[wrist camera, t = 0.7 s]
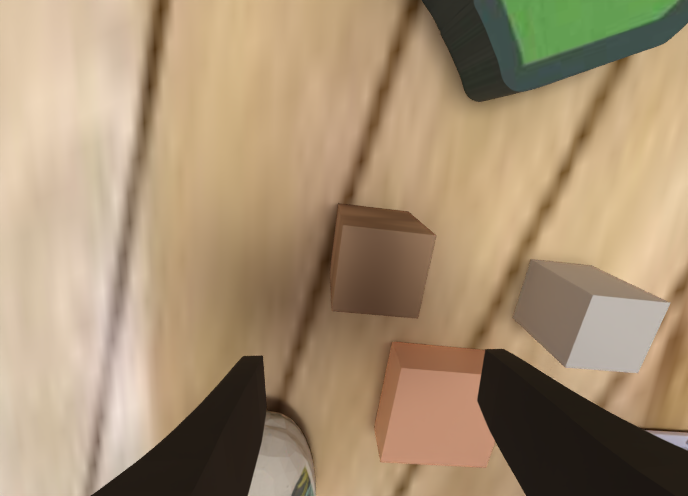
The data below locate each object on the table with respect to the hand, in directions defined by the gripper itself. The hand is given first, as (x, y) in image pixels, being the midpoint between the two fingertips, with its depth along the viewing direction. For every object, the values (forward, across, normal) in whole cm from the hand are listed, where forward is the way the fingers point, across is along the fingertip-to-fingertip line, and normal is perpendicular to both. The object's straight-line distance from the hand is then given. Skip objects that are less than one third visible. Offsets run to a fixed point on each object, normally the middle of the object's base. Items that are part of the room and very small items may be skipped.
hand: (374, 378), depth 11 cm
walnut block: (+10, -1, -2) cm, 10 cm away
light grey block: (+10, -13, +2) cm, 16 cm away
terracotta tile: (+10, -6, +9) cm, 14 cm away
